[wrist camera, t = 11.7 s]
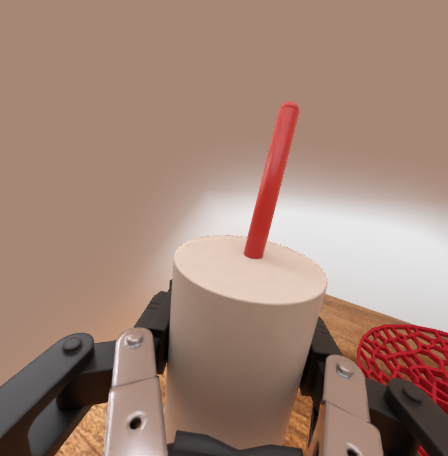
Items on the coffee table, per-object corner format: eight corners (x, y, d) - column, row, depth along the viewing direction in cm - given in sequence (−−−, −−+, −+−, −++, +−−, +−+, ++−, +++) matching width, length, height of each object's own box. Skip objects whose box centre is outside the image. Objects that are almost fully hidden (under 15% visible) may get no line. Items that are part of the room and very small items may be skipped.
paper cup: (135, 458, 10) (140, 43, 6) (204, 365, 15) (234, 108, 11) (251, 572, 8) (422, -10, 3) (287, 415, 13) (372, 107, 8)
